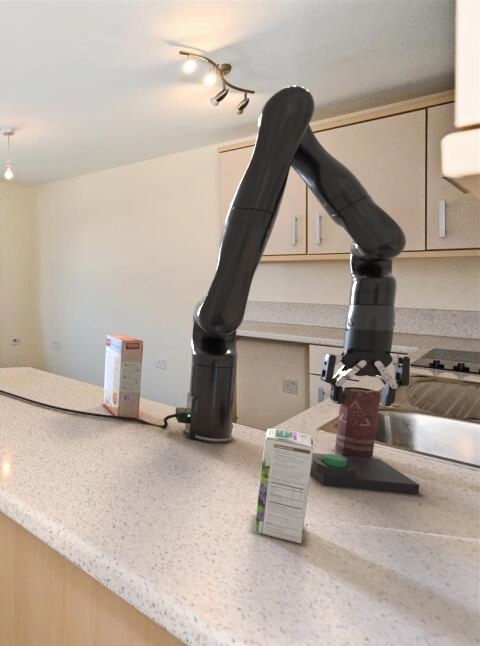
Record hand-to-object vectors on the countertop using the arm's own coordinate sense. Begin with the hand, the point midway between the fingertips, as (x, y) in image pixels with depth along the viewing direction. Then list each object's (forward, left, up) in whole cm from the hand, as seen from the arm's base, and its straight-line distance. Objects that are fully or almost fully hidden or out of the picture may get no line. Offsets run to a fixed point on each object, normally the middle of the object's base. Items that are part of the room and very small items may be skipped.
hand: (360, 404), depth 97 cm
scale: (-6, -13, -11) cm, 18 cm away
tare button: (-11, -16, -8) cm, 21 cm away
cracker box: (-46, +20, -11) cm, 52 cm away
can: (0, 0, -11) cm, 11 cm away
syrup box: (-26, -38, -11) cm, 48 cm away
